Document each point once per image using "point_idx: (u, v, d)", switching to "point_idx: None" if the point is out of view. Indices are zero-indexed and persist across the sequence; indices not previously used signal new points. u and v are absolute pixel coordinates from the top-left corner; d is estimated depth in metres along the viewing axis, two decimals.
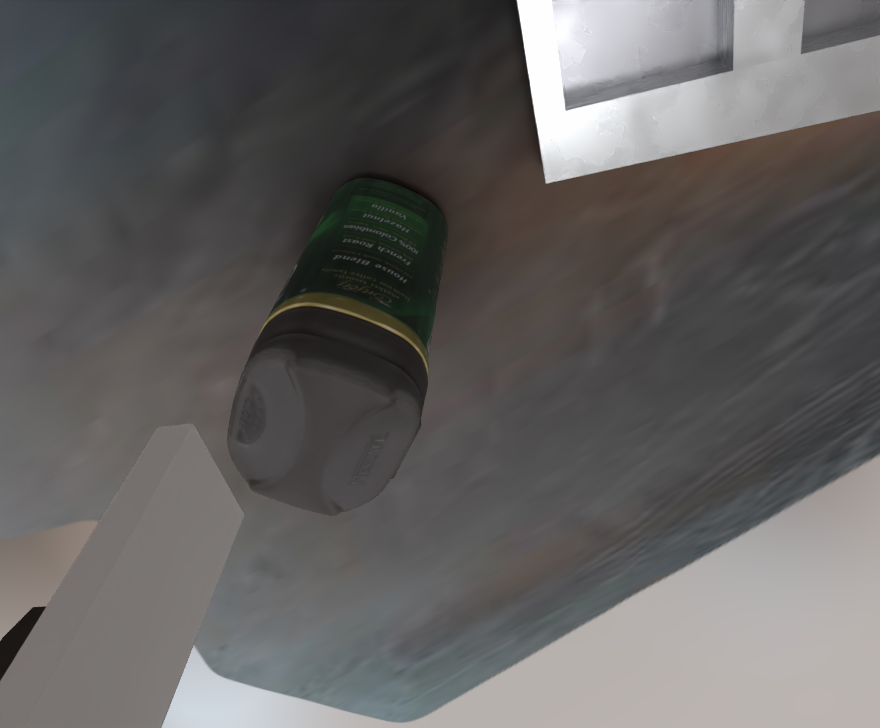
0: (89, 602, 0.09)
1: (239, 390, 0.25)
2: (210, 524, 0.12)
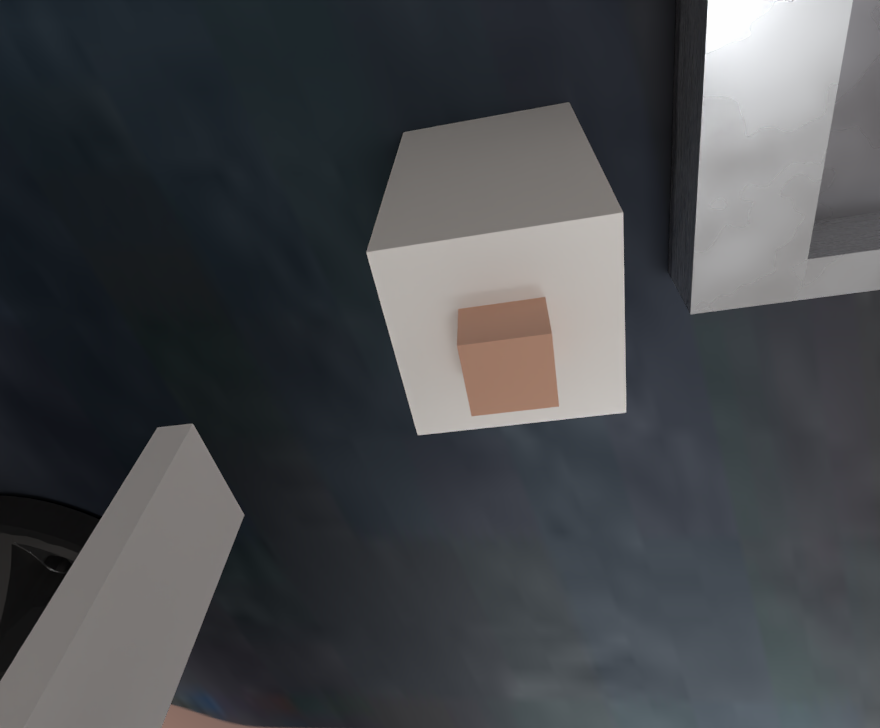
0: (89, 602, 0.09)
1: None
2: (210, 524, 0.12)
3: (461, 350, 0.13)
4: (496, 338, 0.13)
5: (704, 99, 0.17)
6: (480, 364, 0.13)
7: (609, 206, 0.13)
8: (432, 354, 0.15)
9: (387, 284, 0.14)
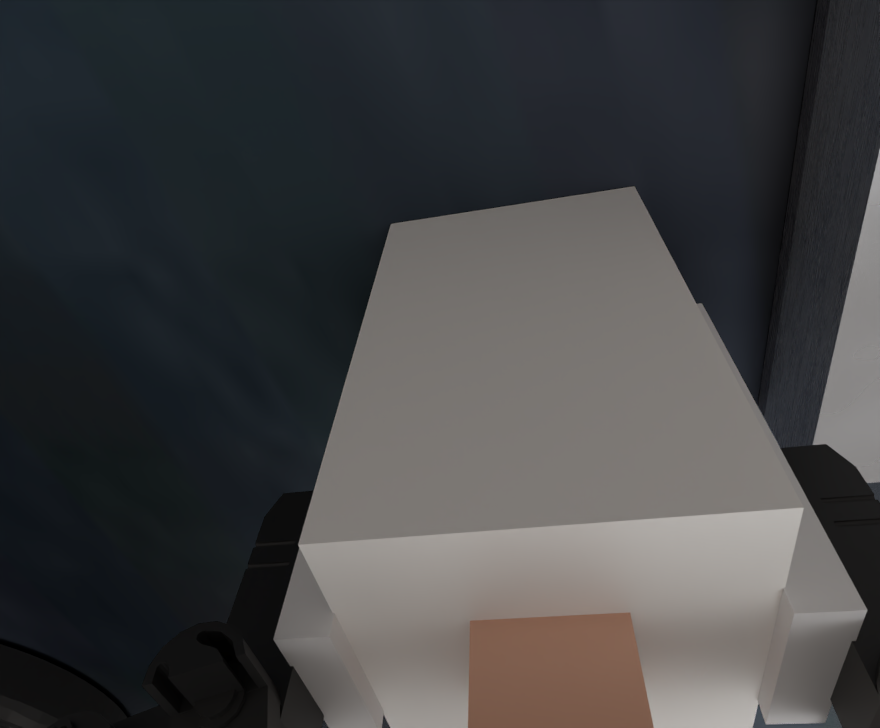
0: None
1: None
2: None
3: None
4: None
5: (869, 208, 0.11)
6: None
7: (768, 480, 0.07)
8: (424, 669, 0.09)
9: (341, 585, 0.08)
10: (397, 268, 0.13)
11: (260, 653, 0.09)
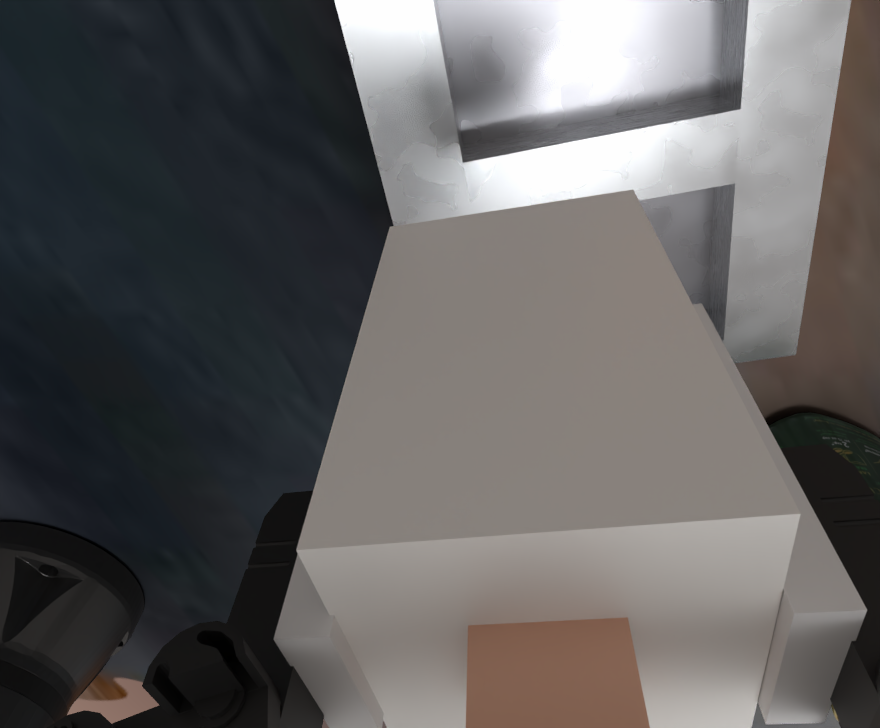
0: None
1: None
2: None
3: None
4: None
5: None
6: None
7: (765, 486, 0.07)
8: (423, 674, 0.09)
9: (339, 590, 0.08)
10: (396, 271, 0.13)
11: (260, 653, 0.09)
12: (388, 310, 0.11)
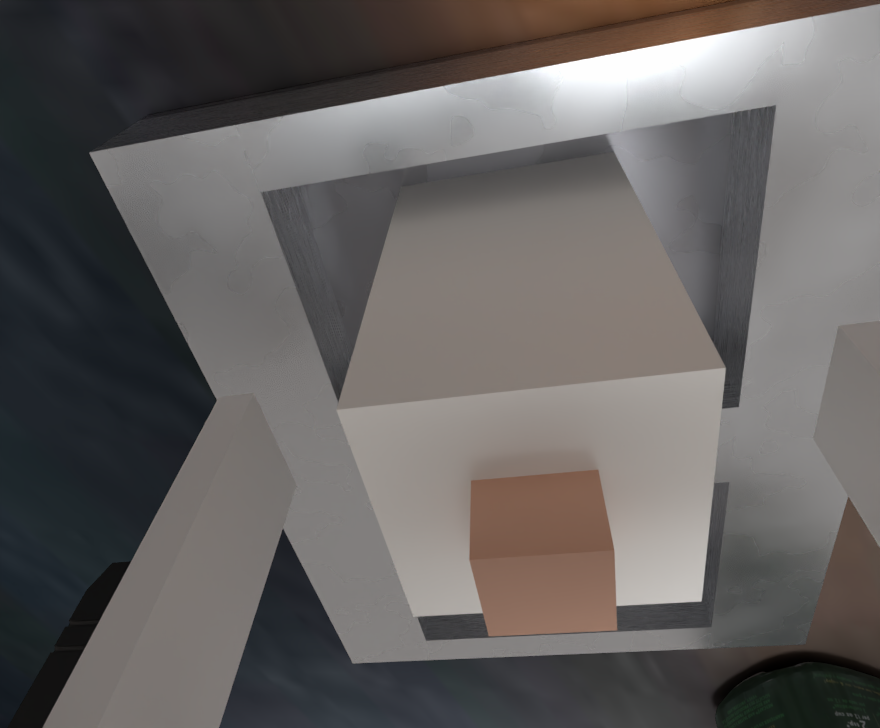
0: (174, 553, 0.09)
1: None
2: (269, 490, 0.13)
3: (476, 565, 0.09)
4: (529, 551, 0.09)
5: (302, 563, 0.22)
6: (503, 582, 0.09)
7: (701, 352, 0.09)
8: (434, 530, 0.11)
9: (368, 449, 0.10)
10: (408, 220, 0.15)
11: None
12: (402, 248, 0.13)
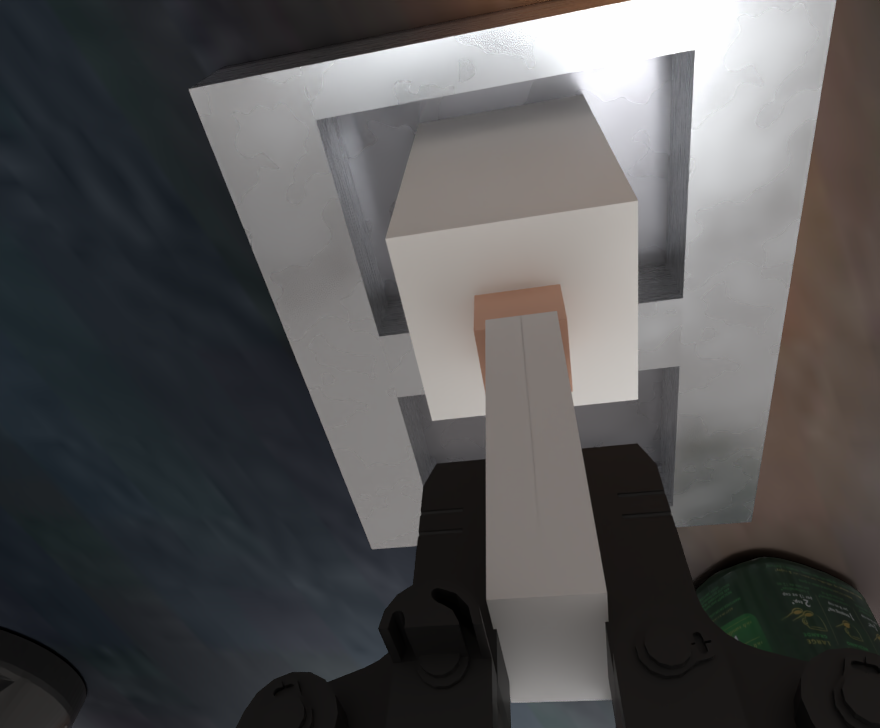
0: (527, 445, 0.10)
1: None
2: None
3: (478, 335, 0.14)
4: None
5: (333, 449, 0.27)
6: None
7: (624, 194, 0.13)
8: (448, 340, 0.15)
9: (405, 270, 0.14)
10: (425, 142, 0.19)
11: None
12: (422, 158, 0.18)
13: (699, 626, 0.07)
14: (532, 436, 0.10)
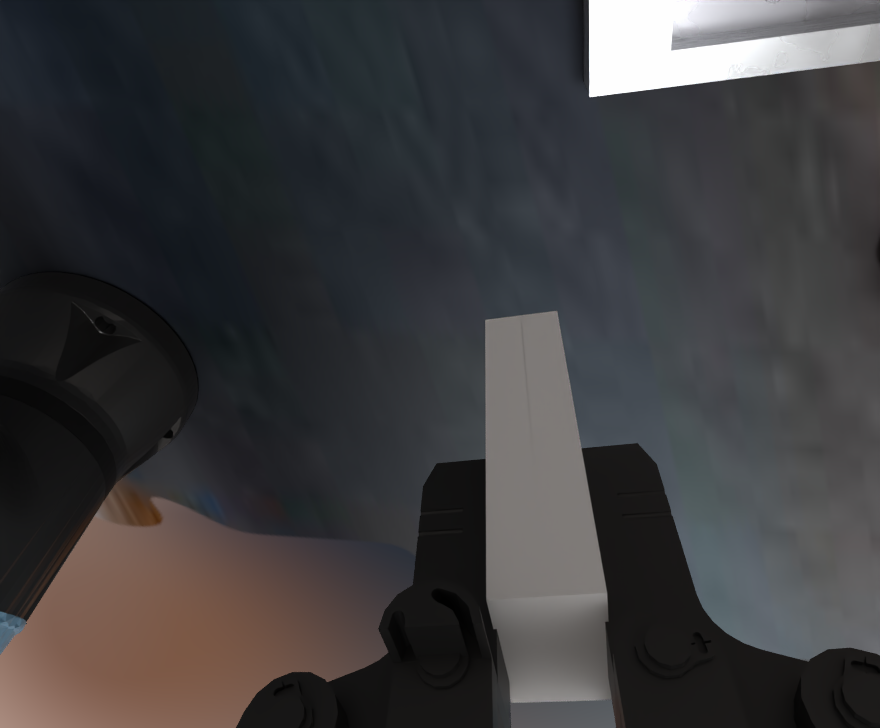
0: (527, 445, 0.10)
1: None
2: None
3: None
4: None
5: None
6: None
7: None
8: None
9: None
10: None
11: None
12: None
13: (699, 626, 0.07)
14: (532, 436, 0.10)
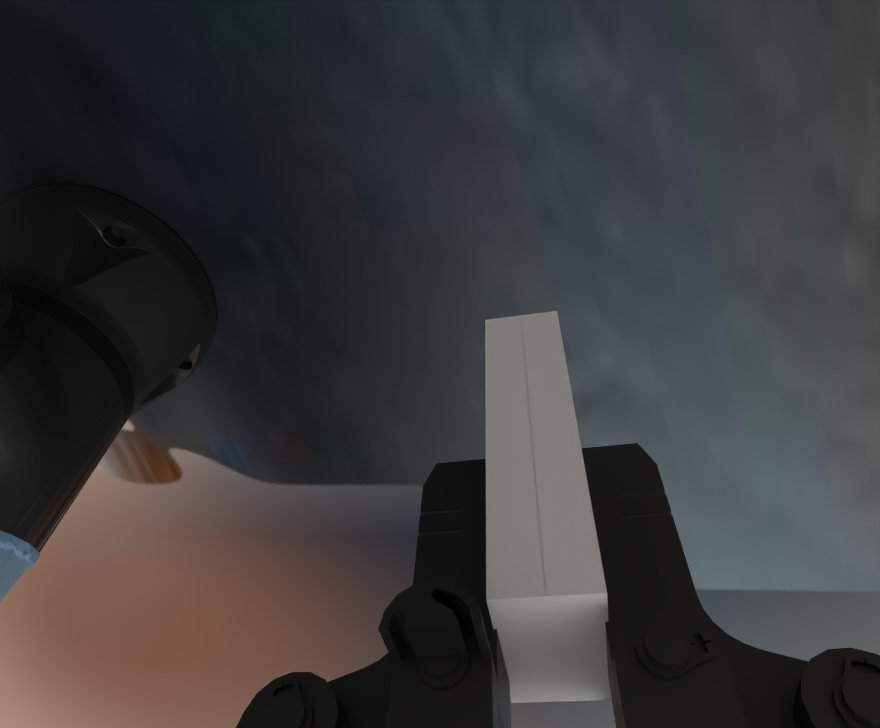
0: (527, 445, 0.10)
1: None
2: None
3: None
4: None
5: None
6: None
7: None
8: None
9: None
10: None
11: None
12: None
13: (699, 626, 0.07)
14: (532, 436, 0.10)
